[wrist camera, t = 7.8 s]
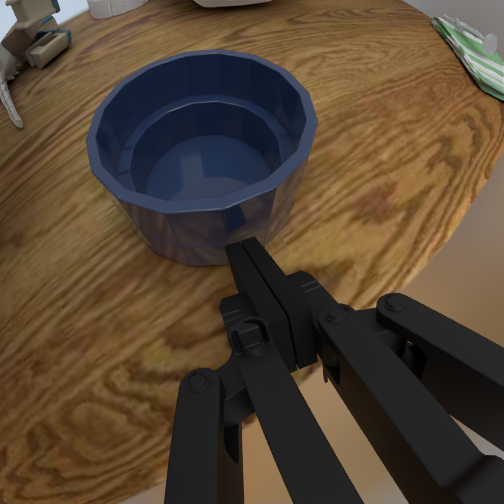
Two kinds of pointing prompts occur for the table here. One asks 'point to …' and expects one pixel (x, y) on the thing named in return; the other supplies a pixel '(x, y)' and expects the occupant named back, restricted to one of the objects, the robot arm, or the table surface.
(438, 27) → the dish towel
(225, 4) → the bowl
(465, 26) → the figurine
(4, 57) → the seashell
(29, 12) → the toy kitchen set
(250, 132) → the glazed bowl
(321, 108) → the table surface
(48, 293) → the table surface
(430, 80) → the table surface
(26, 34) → the wooden block
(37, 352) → the table surface
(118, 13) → the decorative vase
